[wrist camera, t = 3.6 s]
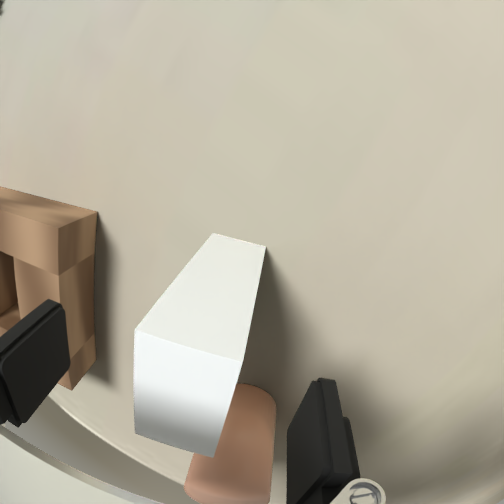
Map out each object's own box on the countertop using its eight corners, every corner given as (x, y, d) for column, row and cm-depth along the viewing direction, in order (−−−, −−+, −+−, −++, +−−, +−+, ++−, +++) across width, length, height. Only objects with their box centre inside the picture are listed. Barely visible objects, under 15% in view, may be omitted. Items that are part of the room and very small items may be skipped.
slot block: (97, 211, 18) (58, 228, 14) (96, 359, 21) (71, 390, 18) (-11, 183, 18) (-47, 193, 14) (-2, 310, 22) (-28, 329, 18)
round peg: (284, 392, 20) (280, 487, 13) (266, 432, 22) (257, 516, 14) (215, 376, 20) (187, 468, 13) (205, 418, 22) (181, 500, 15)
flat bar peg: (265, 246, 17) (243, 362, 8) (245, 322, 19) (213, 457, 9) (213, 232, 17) (134, 329, 8) (198, 309, 19) (134, 433, 9)
